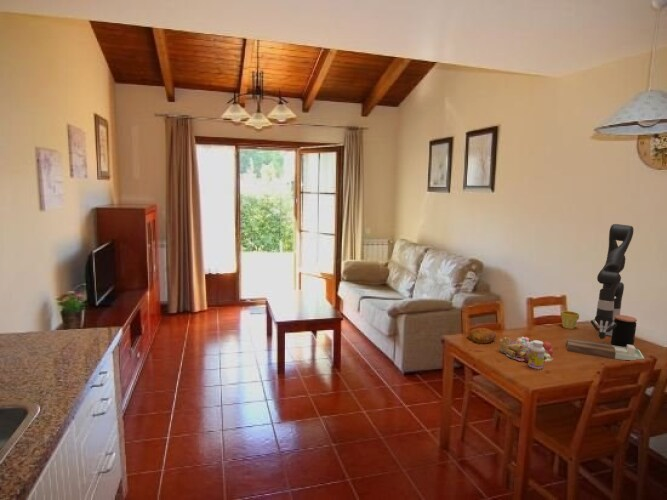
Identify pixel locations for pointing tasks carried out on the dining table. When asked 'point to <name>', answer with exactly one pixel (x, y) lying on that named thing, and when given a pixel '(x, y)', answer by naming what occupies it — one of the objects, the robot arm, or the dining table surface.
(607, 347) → the board
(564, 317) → the plant pot
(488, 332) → the round bread loaf
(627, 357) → the tray
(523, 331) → the dining table surface
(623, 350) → the tile
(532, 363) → the supplement bottle
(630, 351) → the tile
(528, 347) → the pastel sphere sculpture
